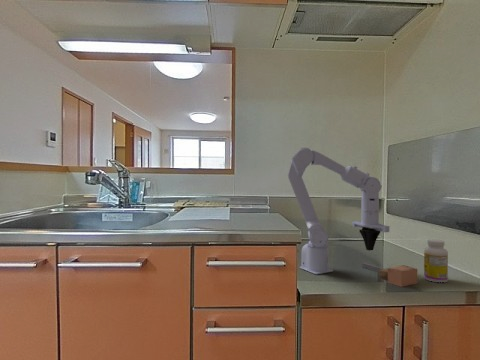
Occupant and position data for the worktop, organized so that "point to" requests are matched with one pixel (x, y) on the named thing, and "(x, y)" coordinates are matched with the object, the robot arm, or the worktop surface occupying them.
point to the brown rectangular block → (383, 274)
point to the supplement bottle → (436, 261)
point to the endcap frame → (397, 274)
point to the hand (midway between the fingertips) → (369, 249)
